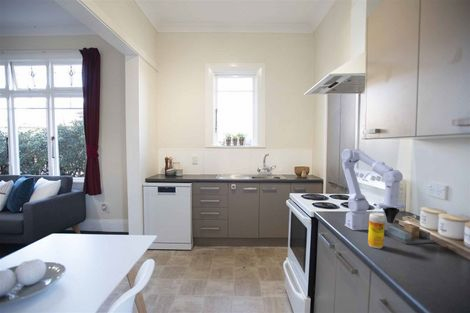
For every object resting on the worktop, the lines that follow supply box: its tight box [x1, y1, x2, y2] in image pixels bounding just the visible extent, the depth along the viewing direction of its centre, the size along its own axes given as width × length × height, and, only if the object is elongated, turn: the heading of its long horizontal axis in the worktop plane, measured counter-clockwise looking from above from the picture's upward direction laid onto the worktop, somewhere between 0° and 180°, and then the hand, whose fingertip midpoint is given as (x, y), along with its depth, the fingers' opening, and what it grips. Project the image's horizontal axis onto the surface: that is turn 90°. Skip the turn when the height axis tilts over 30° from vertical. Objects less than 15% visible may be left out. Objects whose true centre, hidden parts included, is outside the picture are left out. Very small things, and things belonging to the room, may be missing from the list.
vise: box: [385, 228, 435, 245], centre depth 121 cm, size 16×12×4 cm
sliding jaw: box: [387, 225, 410, 240], centre depth 120 cm, size 3×10×3 cm, turn 10°
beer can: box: [367, 211, 386, 249], centre depth 111 cm, size 6×6×15 cm
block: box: [403, 223, 421, 237], centre depth 121 cm, size 4×4×5 cm
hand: (390, 222), depth 119 cm, fingers closed
